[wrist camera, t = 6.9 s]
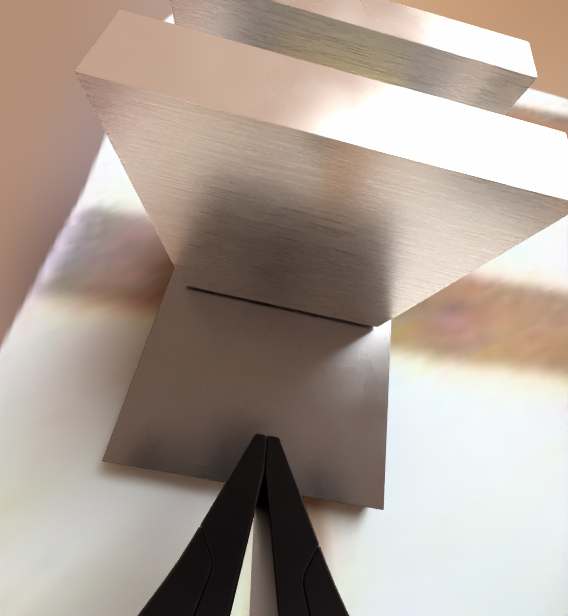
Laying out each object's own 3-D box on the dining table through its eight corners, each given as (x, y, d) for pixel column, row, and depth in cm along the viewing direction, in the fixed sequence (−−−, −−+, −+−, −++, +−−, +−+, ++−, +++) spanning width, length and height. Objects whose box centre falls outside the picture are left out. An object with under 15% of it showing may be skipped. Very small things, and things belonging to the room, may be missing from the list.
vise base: (370, 500, 15) (788, 816, 3) (116, 455, 14) (-458, 676, 3) (386, 215, 22) (541, 5, 11) (217, 173, 21) (183, -105, 10)
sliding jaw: (377, 327, 17) (585, 204, 7) (183, 285, 16) (74, 71, 6) (379, 291, 18) (565, 132, 7) (196, 249, 17) (120, 10, 7)
